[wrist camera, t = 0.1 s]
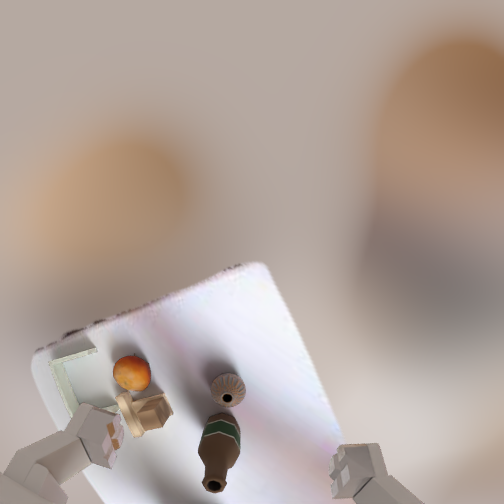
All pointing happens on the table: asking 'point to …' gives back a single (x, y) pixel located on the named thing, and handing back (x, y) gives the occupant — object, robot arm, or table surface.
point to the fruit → (132, 373)
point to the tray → (65, 384)
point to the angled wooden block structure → (144, 412)
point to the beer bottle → (219, 450)
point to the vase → (228, 390)
